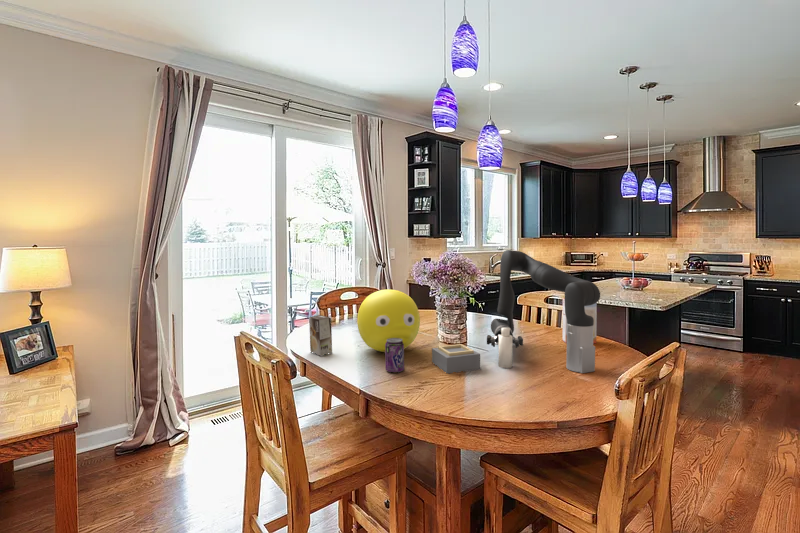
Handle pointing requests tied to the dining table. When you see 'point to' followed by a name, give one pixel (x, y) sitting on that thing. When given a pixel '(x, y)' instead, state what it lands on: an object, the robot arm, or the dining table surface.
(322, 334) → the coffee box
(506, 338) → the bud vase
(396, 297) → the head sculpture
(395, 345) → the beverage can
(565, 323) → the cracker box
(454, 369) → the display riser
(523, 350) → the dining table surface
